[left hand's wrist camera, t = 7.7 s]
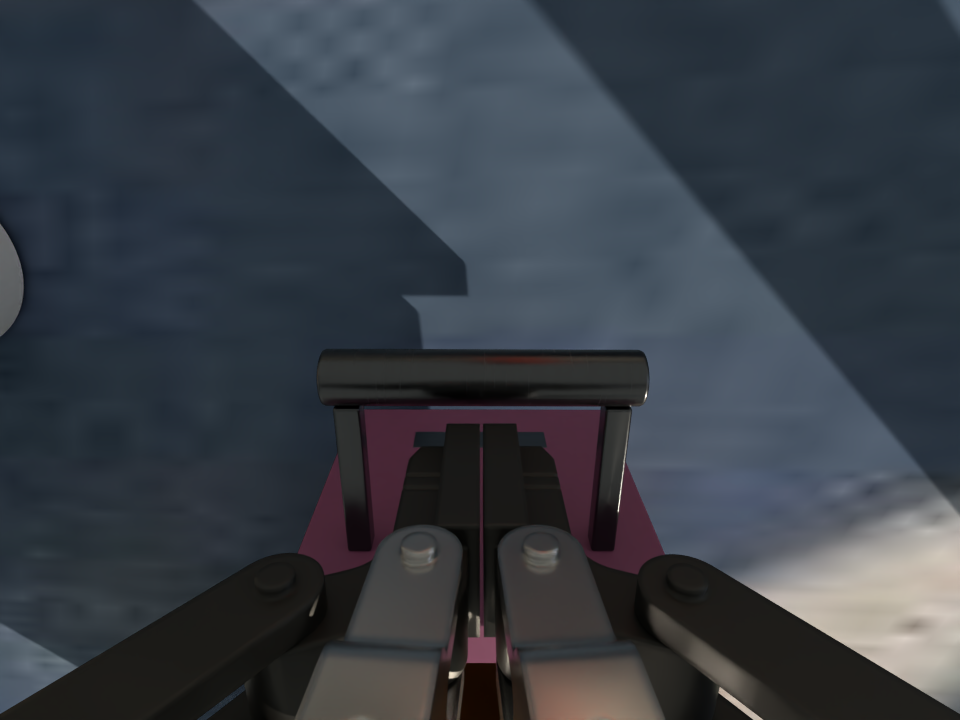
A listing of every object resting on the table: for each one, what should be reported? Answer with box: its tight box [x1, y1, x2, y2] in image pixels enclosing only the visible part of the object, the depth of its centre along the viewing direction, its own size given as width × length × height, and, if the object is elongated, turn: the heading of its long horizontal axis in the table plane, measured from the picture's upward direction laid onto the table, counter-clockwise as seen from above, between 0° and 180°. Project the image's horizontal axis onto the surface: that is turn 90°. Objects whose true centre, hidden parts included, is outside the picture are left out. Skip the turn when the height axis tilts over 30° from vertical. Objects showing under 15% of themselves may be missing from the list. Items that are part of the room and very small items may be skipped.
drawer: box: [298, 349, 665, 720], centre depth 20 cm, size 25×9×10 cm, turn 0°
